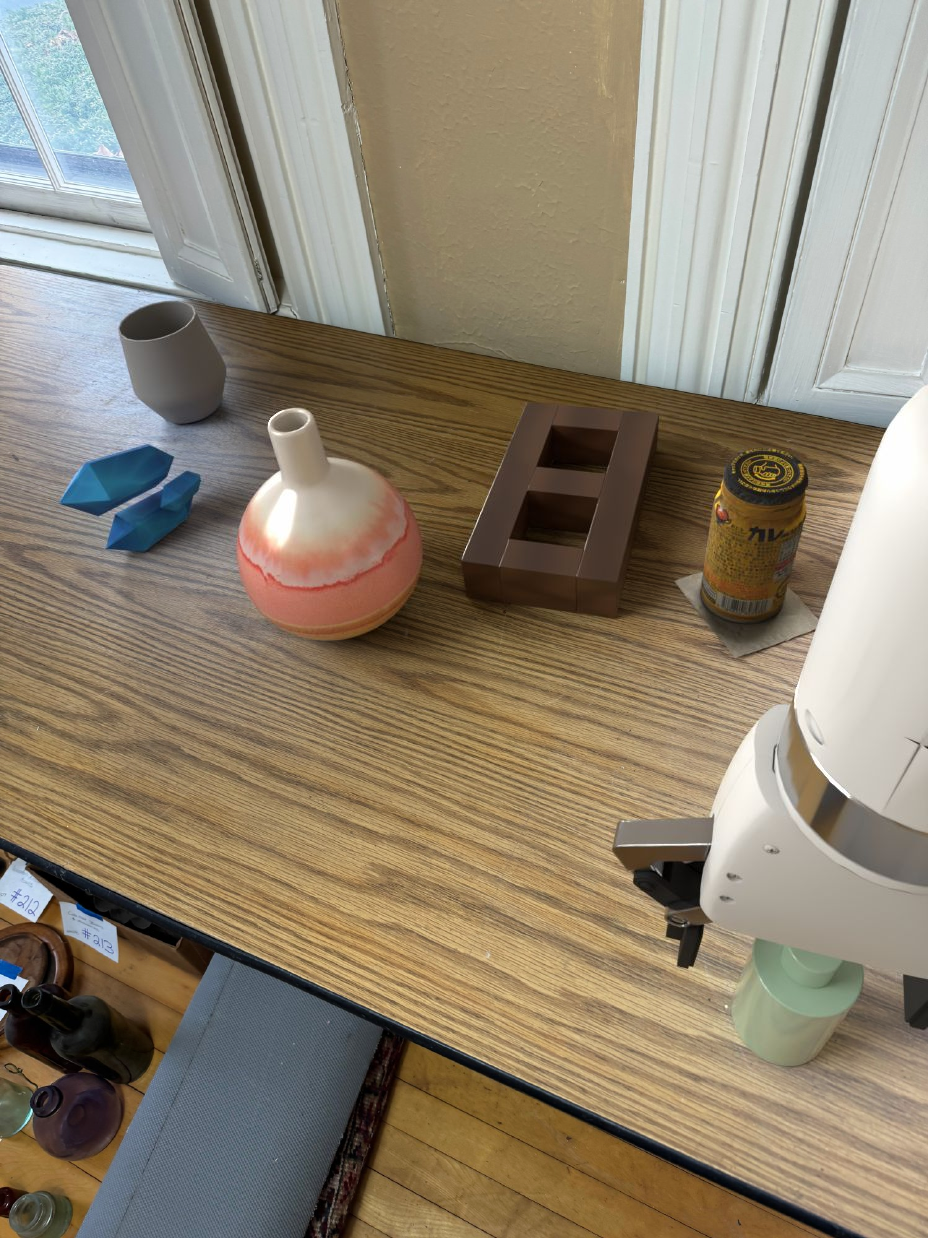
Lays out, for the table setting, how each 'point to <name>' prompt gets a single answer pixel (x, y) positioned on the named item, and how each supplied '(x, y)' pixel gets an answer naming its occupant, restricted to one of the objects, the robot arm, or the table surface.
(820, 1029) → the bottle
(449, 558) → the table surface
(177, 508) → the blue crystals
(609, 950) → the table surface
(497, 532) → the peg block
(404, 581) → the vase
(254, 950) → the table surface
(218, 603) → the table surface
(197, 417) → the cup
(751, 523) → the condiment
